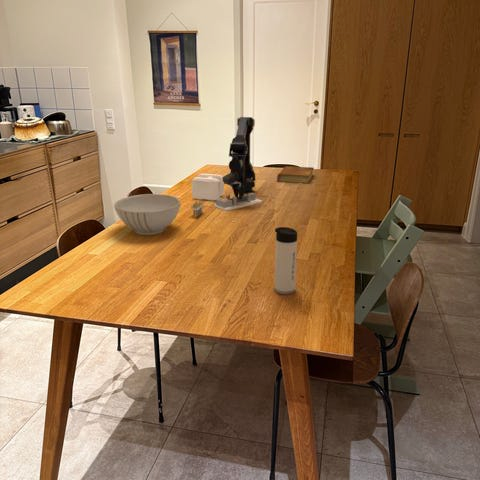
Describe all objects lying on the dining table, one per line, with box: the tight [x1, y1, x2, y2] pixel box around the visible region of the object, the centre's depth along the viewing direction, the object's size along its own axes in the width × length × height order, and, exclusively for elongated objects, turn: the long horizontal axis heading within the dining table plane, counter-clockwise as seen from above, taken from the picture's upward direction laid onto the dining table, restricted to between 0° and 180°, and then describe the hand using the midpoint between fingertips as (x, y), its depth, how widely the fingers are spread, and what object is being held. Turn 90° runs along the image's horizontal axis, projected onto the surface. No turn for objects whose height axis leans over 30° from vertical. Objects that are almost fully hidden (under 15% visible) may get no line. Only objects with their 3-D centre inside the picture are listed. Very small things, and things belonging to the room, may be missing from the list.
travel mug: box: [273, 226, 298, 295], centre depth 137 cm, size 6×7×20 cm
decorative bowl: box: [113, 193, 182, 236], centre depth 190 cm, size 27×27×12 cm
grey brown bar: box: [220, 192, 257, 203], centre depth 227 cm, size 20×3×3 cm, turn 128°
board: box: [213, 193, 263, 212], centre depth 227 cm, size 23×10×5 cm, turn 128°
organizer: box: [190, 173, 225, 202], centre depth 237 cm, size 15×11×12 cm
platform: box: [190, 200, 205, 218], centre depth 210 cm, size 12×18×7 cm, turn 167°
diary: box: [276, 165, 315, 185], centre depth 279 cm, size 23×19×6 cm
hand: (238, 198), depth 227 cm, fingers open, 3 cm apart
